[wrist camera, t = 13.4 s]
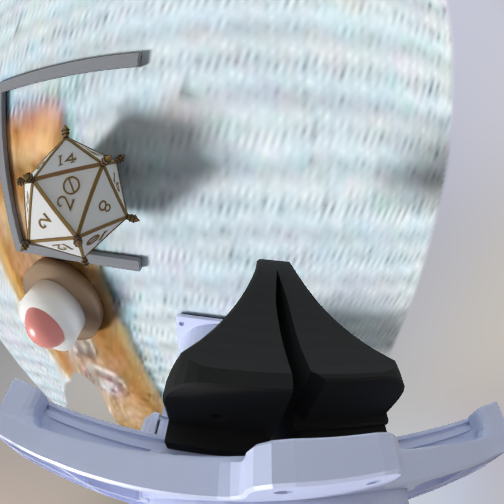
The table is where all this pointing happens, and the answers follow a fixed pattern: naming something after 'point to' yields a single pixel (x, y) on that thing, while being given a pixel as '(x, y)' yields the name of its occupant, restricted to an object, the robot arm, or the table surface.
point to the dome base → (74, 284)
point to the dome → (51, 315)
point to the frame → (83, 66)
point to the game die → (73, 199)
